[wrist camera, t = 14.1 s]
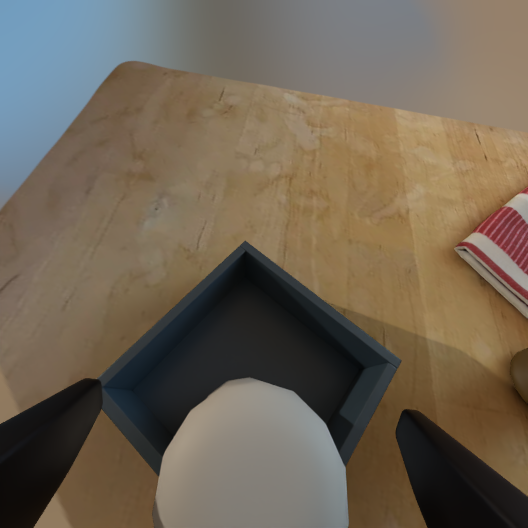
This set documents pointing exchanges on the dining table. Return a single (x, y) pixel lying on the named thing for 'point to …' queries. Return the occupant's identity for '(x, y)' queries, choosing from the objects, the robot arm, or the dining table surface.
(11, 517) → the robot arm
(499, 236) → the dish towel
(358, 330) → the bin
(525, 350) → the kendama
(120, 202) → the dining table surface
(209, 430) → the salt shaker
